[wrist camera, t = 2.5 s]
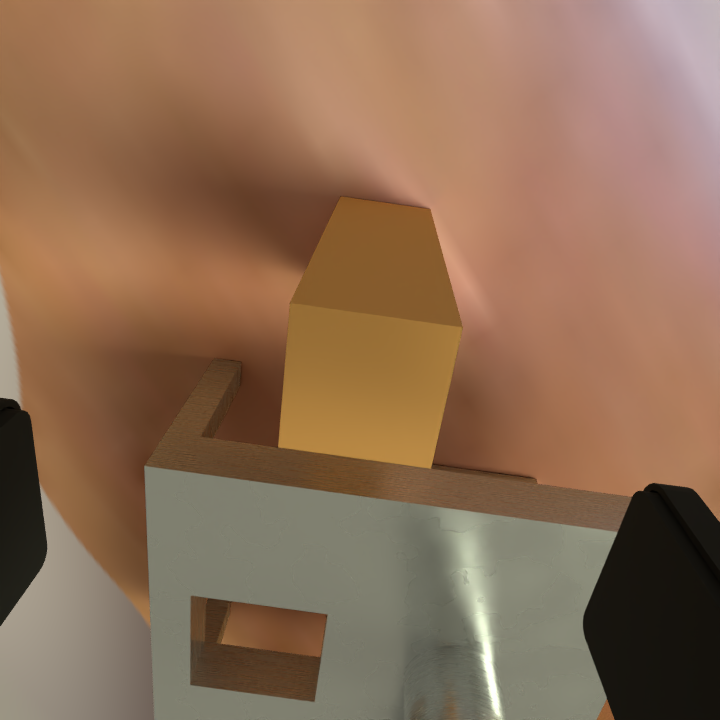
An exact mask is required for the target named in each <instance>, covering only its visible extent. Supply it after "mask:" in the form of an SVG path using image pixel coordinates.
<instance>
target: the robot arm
mask: <svg viewBox="0 0 720 720" xmlns="http://www.w3.org/2000/svg"><path fill="white" fill-rule="evenodd" d="M46 554H47V540H46V532H45V524H44V517H43V509H42V501H41V493H40V486H39V478H38V470H37V463H36V455H35V447H34V440H33V432H32V424H31V419H30V415H29V414H28V412H26V411H23V410H21V408H20V406H19V404H18V403H17V402H16V401H15V400H13V399H6V398H0V626H1V625H2V623H3V622H4V620H5V619H6V617H7V616H8V615H9V613H10V612H11V610H12V609H13V608H14V606H15V605H16V603H17V602H18V601H19V599H20V598H21V596H22V595H23V594H24V592H25V591H26V589H27V588H28V587H29V585H30V584H31V582H32V581H33V579H34V578H35V577H36V575H37V574H38V572H39V571H40V569H41V568H42V566H43V563H44V561H45V558H46ZM583 632H584V636H585V640H586V643H587V645H588V648H589V651H590V653H591V656H592V659H593V662H594V664H595V667H596V670H597V673H598V675H599V678H600V681H601V683H602V686H603V689H604V692H605V694H606V697H607V700H608V703H609V705H610V708H611V711H612V713H613V716H614V719H615V720H720V522H719V521H718V520H717V518H716V517H715V516H714V515H713V513H712V512H711V511H710V509H709V508H708V507H707V505H706V504H705V503H704V502H703V500H702V499H701V498H700V496H699V495H698V494H697V493H696V492H695V491H694V490H693V489H691V488H688V487H680V486H672V485H665V484H657V483H652V484H649V485H648V486H647V487H646V488H645V489H644V491H637V492H636V493H635V494H634V495H633V497H632V498H631V501H630V503H629V506H628V508H627V510H626V513H625V515H624V518H623V520H622V523H621V525H620V527H619V530H618V532H617V535H616V537H615V539H614V542H613V544H612V547H611V549H610V552H609V554H608V556H607V559H606V561H605V564H604V566H603V568H602V571H601V573H600V576H599V578H598V581H597V583H596V585H595V588H594V590H593V593H592V595H591V597H590V600H589V602H588V605H587V607H586V609H585V612H584V616H583Z"/></svg>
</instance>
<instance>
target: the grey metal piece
mask: <svg viewBox="0 0 720 720" xmlns="http://www.w3.org/2000/svg"><path fill="white" fill-rule="evenodd" d="M240 376H241V362H237V361H230V360H223V359H216V358H214V360H213V361H212V363H211V364H210V366H209V367H208V369H207V370H206V372H205V373H204V375H203V376H202V378H201V380H200V381H199V383H198V384H197V386H196V387H195V389H194V390H193V392H192V393H191V395H190V396H189V398H188V400H187V401H186V403H185V404H184V406H183V407H182V409H181V410H180V412H179V413H178V415H177V416H176V418H175V420H174V421H173V423H172V424H171V426H170V427H169V429H168V430H167V432H166V433H165V435H164V437H163V438H162V440H161V441H160V443H159V444H158V446H157V447H156V449H155V450H154V452H153V453H152V455H151V457H150V458H149V460H148V461H147V463H146V464H145V466H144V470H145V495H146V521H147V546H148V571H149V597H150V622H151V645H152V646H151V647H152V672H153V698H154V720H596V719H597V717H598V715H599V713H600V711H601V709H602V707H603V705H604V703H605V701H606V699H607V697H606V694H605V692H604V689H603V686H602V683H601V681H600V678H599V675H598V673H597V670H596V667H595V664H594V662H593V659H592V656H591V653H590V651H589V648H588V645H587V643H586V640H585V636H584V632H583V616H584V612H585V609H586V607H587V605H588V602H589V600H590V597H591V595H592V593H593V590H594V588H595V585H596V583H597V581H598V578H599V576H600V573H601V571H602V568H603V566H604V564H605V561H606V559H607V556H608V554H609V552H610V549H611V547H612V544H613V542H614V539H615V537H616V535H617V532H618V530H619V527H620V525H621V523H622V520H623V518H624V515H625V513H626V510H627V508H628V506H629V503H630V501H631V498H632V497H628V496H621V495H613V494H606V493H599V492H592V491H585V490H578V489H571V488H563V487H556V486H549V485H542V484H538V483H537V480H536V479H532V478H525V477H518V476H511V475H504V474H497V473H489V472H482V471H475V470H468V469H461V468H454V467H447V466H439V465H432V466H431V469H430V468H423V467H415V466H408V465H401V464H394V463H387V462H380V461H373V460H363V459H356V458H349V457H342V456H335V455H328V454H320V453H313V452H306V451H299V450H292V449H285V448H278V447H270V446H263V445H256V444H249V443H242V442H235V441H228V440H220V439H213V438H214V436H215V434H216V432H217V430H218V428H219V426H220V424H221V422H222V420H223V418H224V416H225V414H226V412H227V411H228V409H229V407H230V405H231V403H232V401H233V399H234V397H235V395H236V393H237V391H238V389H239V387H240ZM206 598H208V600H207V603H206ZM230 601H234V602H242V603H249V604H256V605H263V606H271V607H278V608H285V609H292V610H300V611H307V612H314V613H322V614H327V616H326V623H325V630H324V636H323V643H322V650H321V657H314V656H307V655H299V654H292V653H285V652H278V651H270V650H263V649H256V648H248V647H241V646H234V645H226V644H221V641H222V638H223V635H224V631H225V628H226V625H227V622H228V618H229V615H230Z"/></svg>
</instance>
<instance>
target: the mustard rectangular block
mask: <svg viewBox="0 0 720 720" xmlns="http://www.w3.org/2000/svg"><path fill="white" fill-rule="evenodd" d="M462 329H463V326H462V323H461V319H460V315H459V312H458V308H457V304H456V301H455V297H454V294H453V290H452V286H451V283H450V279H449V275H448V272H447V268H446V264H445V261H444V257H443V254H442V250H441V246H440V243H439V239H438V235H437V232H436V228H435V224H434V221H433V217H432V214H431V210H430V209H426V208H419V207H412V206H405V205H398V204H391V203H384V202H377V201H370V200H363V199H356V198H349V197H343V196H340V199H339V201H338V203H337V205H336V207H335V209H334V211H333V213H332V215H331V218H330V220H329V222H328V224H327V226H326V228H325V230H324V232H323V234H322V237H321V239H320V241H319V243H318V245H317V247H316V249H315V251H314V253H313V256H312V258H311V260H310V262H309V264H308V266H307V268H306V270H305V272H304V275H303V277H302V279H301V281H300V283H299V285H298V287H297V289H296V291H295V294H294V296H293V298H292V300H291V302H290V310H289V322H288V334H287V346H286V358H285V370H284V382H283V394H282V406H281V418H280V430H279V443H278V447H280V448H287V449H294V450H302V451H309V452H316V453H323V454H330V455H337V456H344V457H351V458H358V459H366V460H373V461H380V462H387V463H394V464H401V465H408V466H415V467H423V468H430V469H431V466H432V462H433V458H434V453H435V449H436V444H437V440H438V435H439V431H440V427H441V422H442V418H443V413H444V409H445V404H446V400H447V395H448V391H449V387H450V382H451V378H452V373H453V369H454V364H455V360H456V356H457V351H458V347H459V342H460V338H461V333H462Z"/></svg>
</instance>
